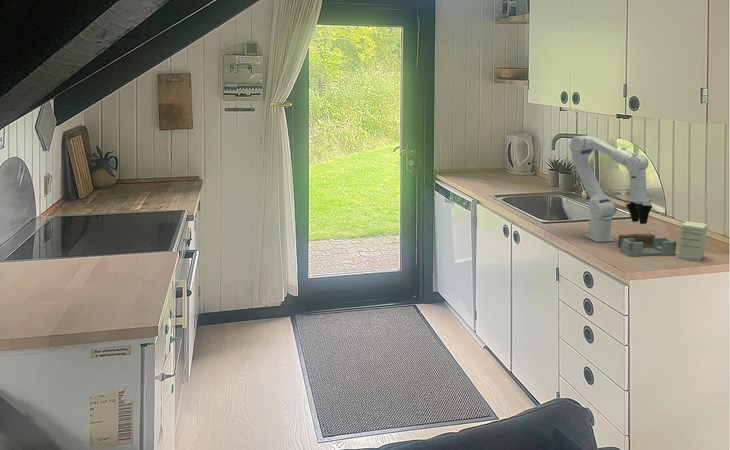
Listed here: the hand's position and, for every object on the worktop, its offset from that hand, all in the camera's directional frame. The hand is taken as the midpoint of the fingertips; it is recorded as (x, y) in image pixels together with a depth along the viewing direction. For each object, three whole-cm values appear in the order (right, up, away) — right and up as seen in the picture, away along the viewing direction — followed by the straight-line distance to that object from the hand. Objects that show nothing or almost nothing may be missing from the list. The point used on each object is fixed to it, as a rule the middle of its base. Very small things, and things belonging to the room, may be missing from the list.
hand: (639, 222), depth 236 cm
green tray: (+1, -12, -4) cm, 12 cm away
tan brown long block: (0, -10, +4) cm, 10 cm away
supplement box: (+15, -13, -10) cm, 22 cm away
